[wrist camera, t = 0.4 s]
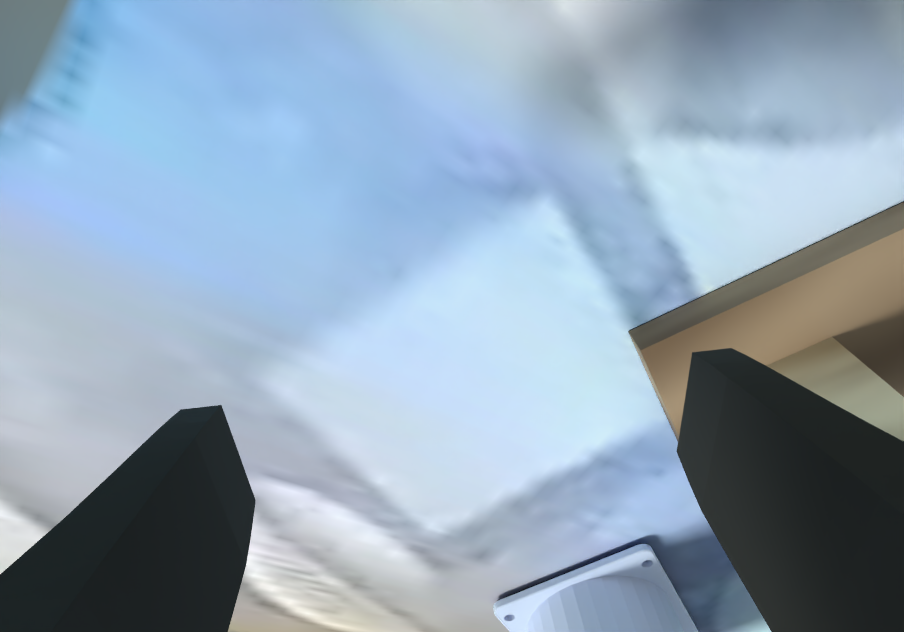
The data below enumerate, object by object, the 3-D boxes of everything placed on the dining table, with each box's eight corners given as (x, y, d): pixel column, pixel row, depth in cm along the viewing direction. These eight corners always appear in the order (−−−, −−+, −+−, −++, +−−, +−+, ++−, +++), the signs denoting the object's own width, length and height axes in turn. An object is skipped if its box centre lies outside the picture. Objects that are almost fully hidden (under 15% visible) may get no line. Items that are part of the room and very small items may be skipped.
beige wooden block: (848, 413, 22) (1054, 615, 15) (745, 456, 23) (897, 667, 16) (832, 337, 20) (1058, 528, 13) (719, 385, 21) (879, 591, 14)
